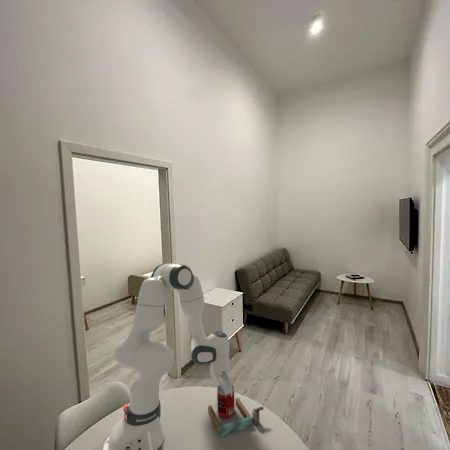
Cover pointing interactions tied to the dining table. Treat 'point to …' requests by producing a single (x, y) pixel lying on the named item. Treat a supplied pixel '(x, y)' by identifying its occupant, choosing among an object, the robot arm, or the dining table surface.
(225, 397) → the canned food
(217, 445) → the dining table surface
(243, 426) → the bay
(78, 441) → the dining table surface
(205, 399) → the dining table surface
